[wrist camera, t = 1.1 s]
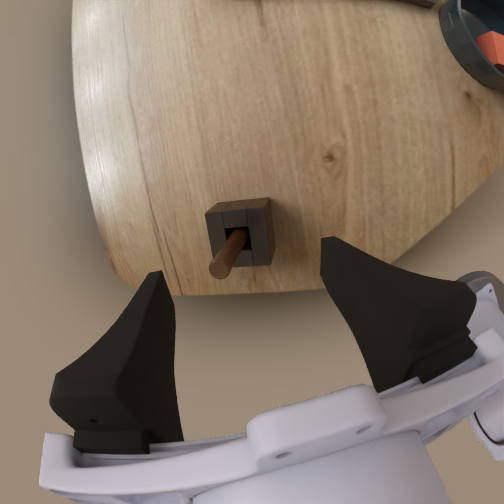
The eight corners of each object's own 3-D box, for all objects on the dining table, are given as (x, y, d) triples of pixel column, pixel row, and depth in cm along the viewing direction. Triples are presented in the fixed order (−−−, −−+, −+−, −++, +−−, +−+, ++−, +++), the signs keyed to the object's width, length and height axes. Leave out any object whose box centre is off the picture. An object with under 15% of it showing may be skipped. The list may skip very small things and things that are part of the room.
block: (504, 76, 17) (522, 72, 13) (480, 68, 17) (498, 63, 14) (498, 46, 15) (516, 40, 12) (474, 38, 16) (491, 30, 13)
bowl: (531, 67, 15) (554, 64, 11) (486, 107, 19) (511, 105, 15) (473, -15, 13) (490, -28, 9) (418, 13, 17) (434, -3, 13)
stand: (269, 197, 27) (264, 207, 23) (275, 248, 29) (271, 265, 25) (217, 202, 28) (204, 213, 24) (225, 251, 30) (214, 268, 26)
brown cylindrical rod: (257, 226, 28) (233, 272, 19) (246, 235, 29) (218, 283, 19) (247, 215, 28) (218, 255, 19) (236, 224, 28) (204, 268, 19)
